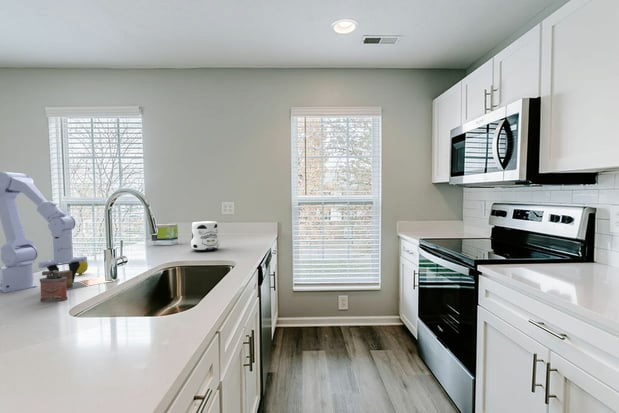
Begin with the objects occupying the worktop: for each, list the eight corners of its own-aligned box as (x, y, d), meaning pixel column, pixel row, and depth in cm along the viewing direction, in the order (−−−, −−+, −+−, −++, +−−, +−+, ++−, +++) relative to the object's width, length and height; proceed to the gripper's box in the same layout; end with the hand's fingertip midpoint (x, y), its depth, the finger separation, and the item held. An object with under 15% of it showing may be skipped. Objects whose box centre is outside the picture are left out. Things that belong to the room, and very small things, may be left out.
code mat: (49, 294, 114) (49, 293, 114) (40, 288, 122) (40, 288, 122) (88, 286, 124) (88, 286, 124) (78, 281, 131) (78, 281, 131)
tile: (89, 286, 124) (89, 285, 124) (79, 281, 131) (79, 281, 131) (115, 281, 131) (115, 280, 131) (104, 277, 138) (104, 276, 138)
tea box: (178, 243, 240) (177, 223, 239) (171, 245, 230) (170, 224, 229) (159, 243, 241) (158, 223, 241) (151, 245, 231) (150, 225, 231)
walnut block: (59, 289, 120) (59, 273, 120) (56, 287, 122) (56, 271, 122) (72, 286, 123) (72, 271, 123) (69, 285, 125) (68, 269, 125)
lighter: (70, 298, 109) (69, 269, 109) (62, 301, 106) (61, 271, 105) (45, 299, 109) (44, 269, 108) (37, 302, 105) (36, 272, 105)
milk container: (211, 253, 196) (210, 223, 195) (185, 252, 199) (184, 223, 199) (224, 248, 213) (223, 221, 212) (200, 248, 216) (199, 221, 216)
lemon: (85, 272, 147) (85, 255, 147) (89, 274, 144) (89, 256, 144) (71, 275, 143) (70, 257, 143) (75, 276, 140) (74, 258, 139)
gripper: (41, 251, 114) (43, 289, 114) (89, 246, 125) (90, 281, 126) (36, 249, 118) (37, 286, 119) (82, 244, 130) (84, 278, 130)
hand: (64, 283), depth 123 cm, fingers closed on walnut block, 4 cm apart
